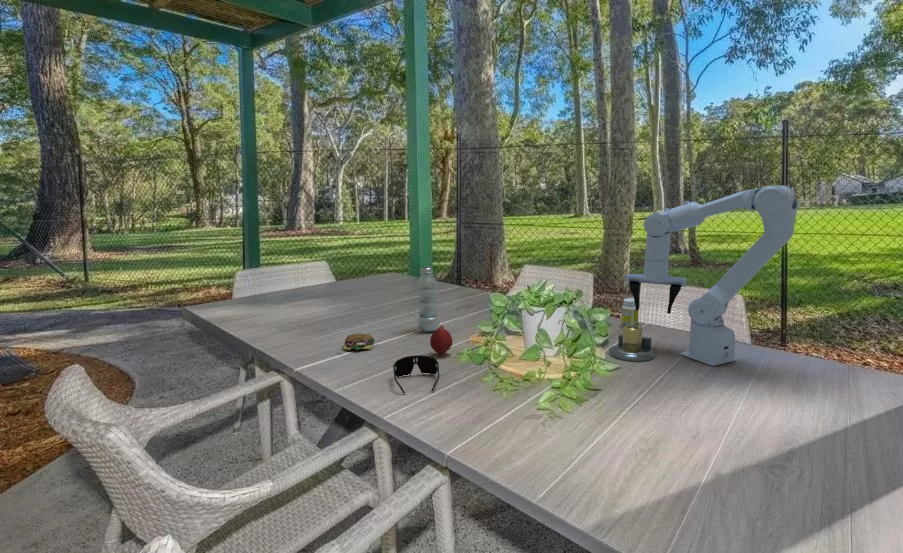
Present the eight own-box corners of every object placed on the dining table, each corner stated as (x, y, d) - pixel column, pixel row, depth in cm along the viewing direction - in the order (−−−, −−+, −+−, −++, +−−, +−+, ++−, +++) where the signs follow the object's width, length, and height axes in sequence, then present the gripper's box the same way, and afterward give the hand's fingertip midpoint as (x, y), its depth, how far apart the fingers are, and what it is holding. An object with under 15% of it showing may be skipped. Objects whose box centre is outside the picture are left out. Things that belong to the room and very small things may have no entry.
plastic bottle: (414, 333, 150) (411, 268, 147) (424, 327, 156) (421, 265, 153) (433, 334, 148) (431, 269, 144) (442, 328, 154) (440, 265, 150)
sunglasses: (438, 372, 117) (437, 353, 115) (443, 399, 105) (442, 378, 104) (393, 375, 116) (392, 356, 114) (393, 403, 104) (392, 382, 103)
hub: (645, 351, 124) (646, 327, 123) (632, 354, 122) (632, 330, 121) (632, 346, 128) (632, 323, 127) (618, 349, 126) (619, 326, 125)
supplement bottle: (635, 324, 152) (636, 298, 150) (640, 328, 147) (640, 301, 146) (619, 324, 152) (620, 298, 151) (623, 328, 148) (624, 301, 146)
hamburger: (333, 344, 143) (331, 324, 142) (381, 341, 144) (380, 321, 143) (325, 360, 129) (324, 338, 128) (379, 357, 130) (377, 335, 129)
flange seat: (613, 345, 132) (613, 333, 131) (657, 350, 127) (657, 338, 126) (604, 358, 123) (605, 345, 122) (651, 364, 117) (652, 351, 117)
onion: (436, 359, 125) (435, 329, 124) (427, 353, 130) (425, 324, 129) (456, 355, 128) (455, 326, 127) (446, 349, 133) (445, 321, 132)
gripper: (688, 259, 126) (684, 310, 128) (629, 255, 132) (626, 304, 135) (687, 263, 120) (682, 317, 122) (625, 259, 126) (622, 310, 129)
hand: (653, 311), depth 128 cm, fingers open, 7 cm apart
